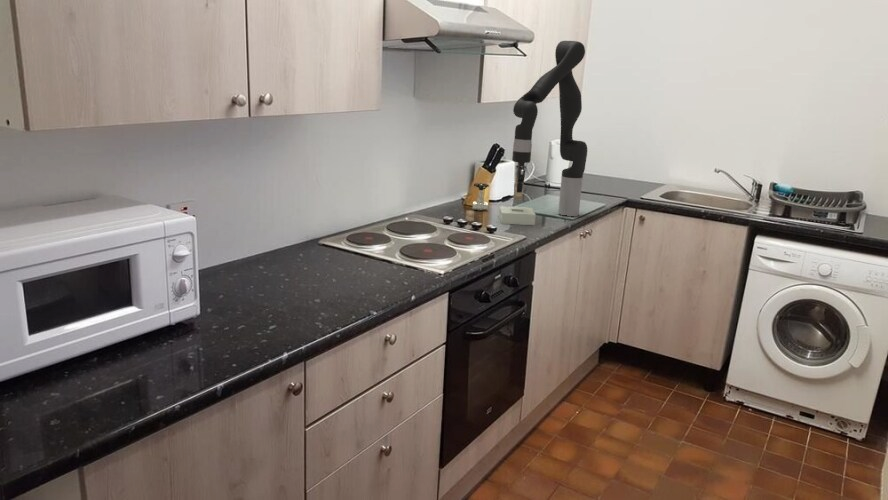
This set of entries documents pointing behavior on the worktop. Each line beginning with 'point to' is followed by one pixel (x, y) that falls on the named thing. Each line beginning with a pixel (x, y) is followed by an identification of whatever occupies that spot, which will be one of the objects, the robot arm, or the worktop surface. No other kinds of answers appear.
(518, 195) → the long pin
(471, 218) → the short pin
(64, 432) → the worktop surface
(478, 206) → the valve
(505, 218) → the pale green slotted block
